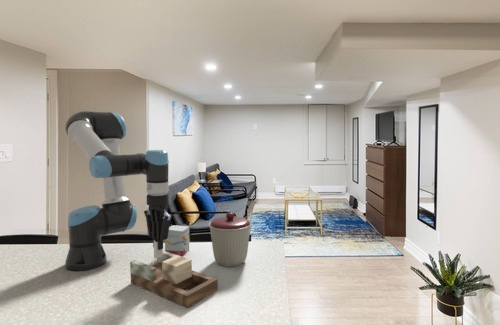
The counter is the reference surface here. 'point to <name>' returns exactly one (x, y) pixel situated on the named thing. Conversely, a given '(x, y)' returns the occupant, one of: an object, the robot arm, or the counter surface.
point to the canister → (230, 239)
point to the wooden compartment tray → (177, 293)
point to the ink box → (177, 240)
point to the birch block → (177, 269)
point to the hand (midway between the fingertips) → (158, 257)
